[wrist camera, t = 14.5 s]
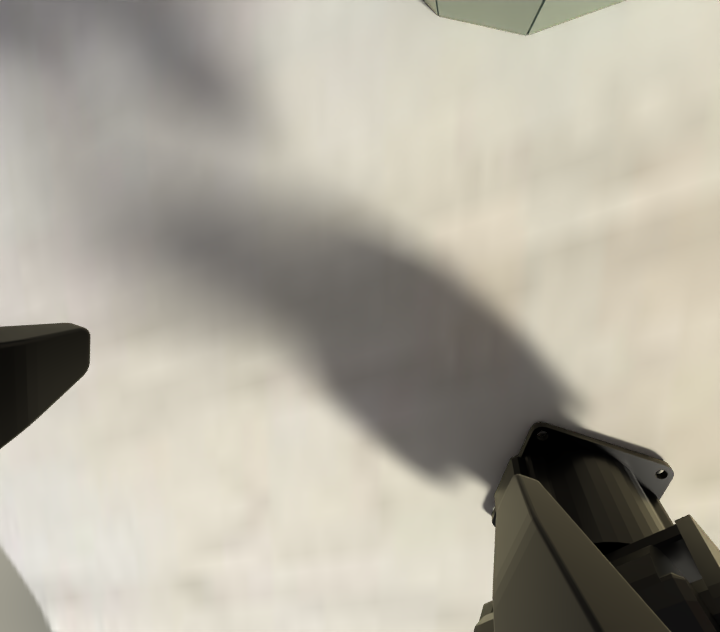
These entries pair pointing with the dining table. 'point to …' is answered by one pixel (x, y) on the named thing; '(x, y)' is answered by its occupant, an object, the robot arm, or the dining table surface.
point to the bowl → (517, 12)
